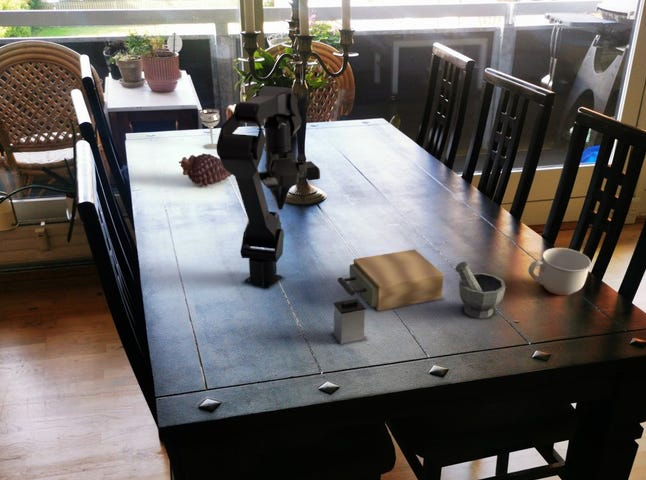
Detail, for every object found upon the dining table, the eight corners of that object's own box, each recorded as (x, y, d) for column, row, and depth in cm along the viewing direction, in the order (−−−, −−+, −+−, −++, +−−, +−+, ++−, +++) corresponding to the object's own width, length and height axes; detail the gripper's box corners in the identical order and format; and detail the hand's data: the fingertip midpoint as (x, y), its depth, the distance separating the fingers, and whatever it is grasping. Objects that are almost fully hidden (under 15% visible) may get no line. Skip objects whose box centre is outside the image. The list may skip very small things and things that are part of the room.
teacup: (575, 278, 173) (582, 247, 168) (590, 300, 164) (598, 268, 159) (517, 278, 172) (522, 247, 168) (529, 300, 163) (535, 268, 159)
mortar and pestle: (491, 298, 164) (498, 249, 157) (508, 319, 156) (516, 268, 149) (443, 303, 162) (448, 253, 155) (458, 324, 154) (464, 273, 147)
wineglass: (226, 145, 257) (223, 110, 250) (213, 150, 252) (210, 115, 245) (211, 142, 260) (208, 108, 253) (198, 147, 255) (195, 112, 248)
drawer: (354, 310, 157) (355, 292, 154) (332, 284, 167) (332, 267, 164) (431, 295, 163) (432, 278, 160) (405, 271, 173) (406, 255, 170)
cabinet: (378, 310, 158) (379, 285, 155) (352, 283, 169) (353, 259, 166) (441, 298, 163) (443, 274, 160) (412, 272, 174) (414, 249, 171)
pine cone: (223, 172, 233) (235, 149, 225) (231, 196, 229) (243, 173, 221) (170, 166, 223) (181, 142, 215) (178, 191, 218) (189, 167, 211)
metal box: (340, 344, 147) (341, 308, 142) (333, 334, 150) (333, 299, 145) (364, 339, 148) (365, 304, 144) (356, 329, 152) (357, 294, 147)
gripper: (248, 159, 158) (252, 226, 166) (328, 150, 163) (328, 216, 172) (234, 144, 166) (238, 209, 175) (311, 136, 172) (312, 200, 181)
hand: (280, 209), depth 175 cm, fingers closed
